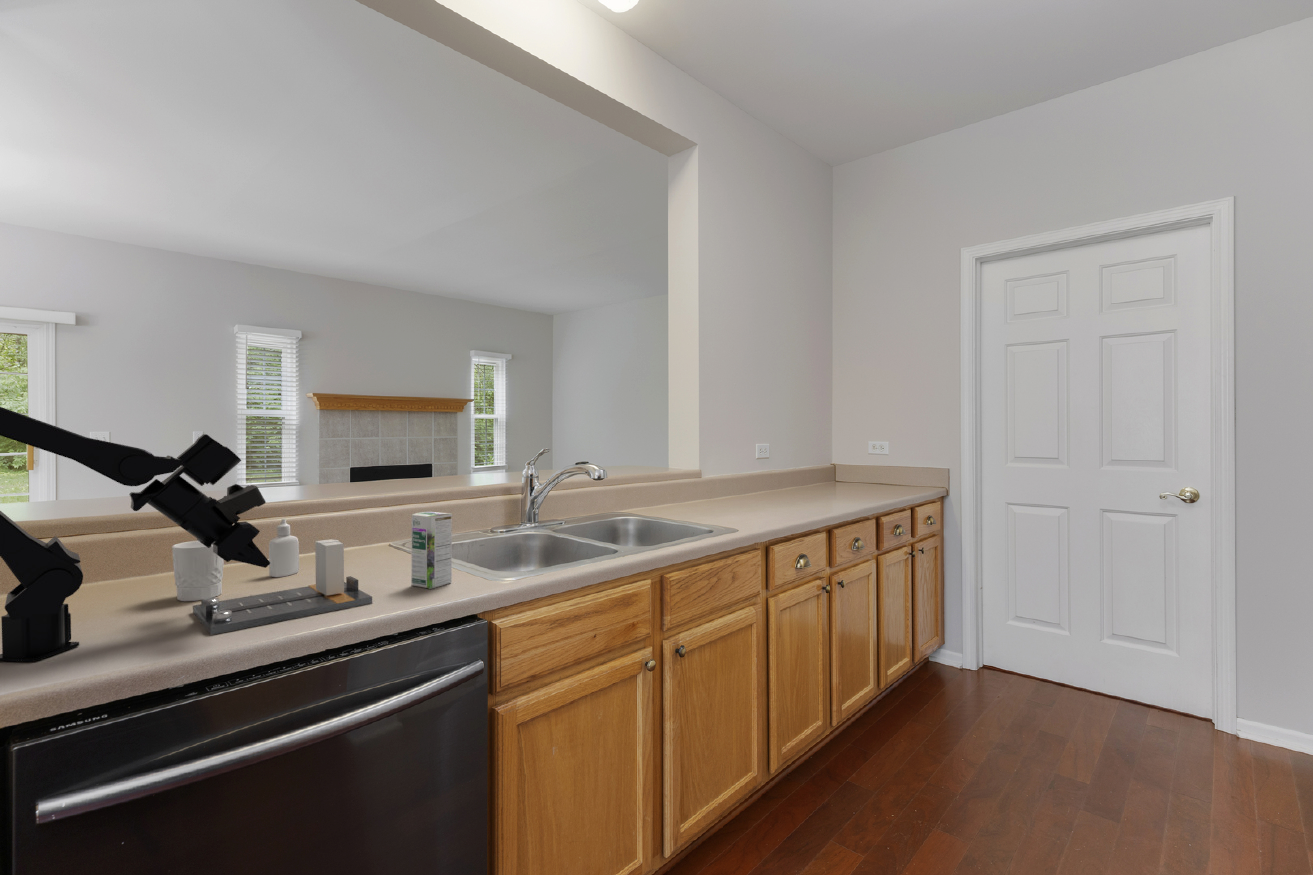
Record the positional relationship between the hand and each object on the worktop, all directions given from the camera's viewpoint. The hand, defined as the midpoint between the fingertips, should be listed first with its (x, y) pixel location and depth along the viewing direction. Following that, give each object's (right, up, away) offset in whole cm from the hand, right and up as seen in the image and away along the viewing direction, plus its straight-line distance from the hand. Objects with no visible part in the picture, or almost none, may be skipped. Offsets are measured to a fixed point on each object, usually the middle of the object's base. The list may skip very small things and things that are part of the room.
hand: (267, 565), depth 107 cm
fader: (+7, -6, +7) cm, 12 cm away
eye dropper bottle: (-13, -8, +26) cm, 30 cm away
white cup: (-19, -8, +9) cm, 22 cm away
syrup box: (+22, -8, +18) cm, 29 cm away
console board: (+2, -8, +2) cm, 8 cm away
